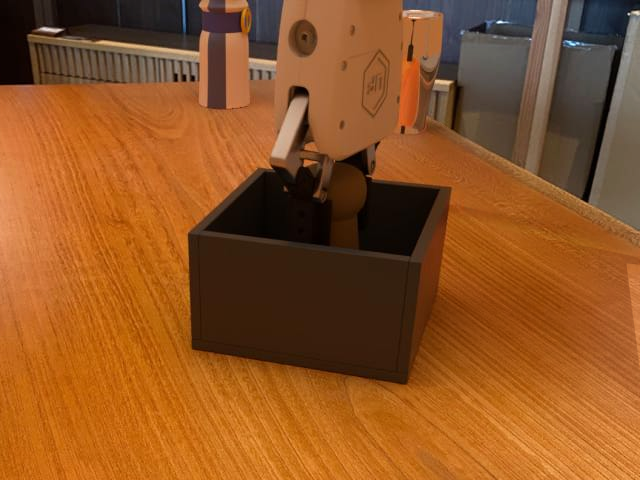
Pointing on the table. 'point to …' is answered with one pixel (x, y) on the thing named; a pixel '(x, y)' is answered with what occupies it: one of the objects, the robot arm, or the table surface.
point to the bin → (318, 281)
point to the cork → (345, 203)
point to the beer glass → (418, 67)
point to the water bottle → (224, 54)
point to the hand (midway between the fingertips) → (328, 236)
